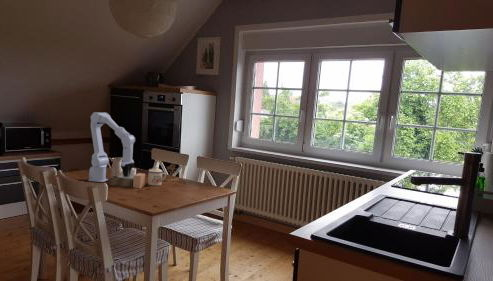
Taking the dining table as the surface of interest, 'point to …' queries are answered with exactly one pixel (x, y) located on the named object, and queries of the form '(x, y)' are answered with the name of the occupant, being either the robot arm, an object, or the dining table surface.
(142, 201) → the dining table surface
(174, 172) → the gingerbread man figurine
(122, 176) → the slide bar
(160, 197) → the dining table surface
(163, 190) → the dining table surface
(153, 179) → the teacup with lid
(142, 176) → the tan square block
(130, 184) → the guide channel
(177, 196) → the dining table surface
